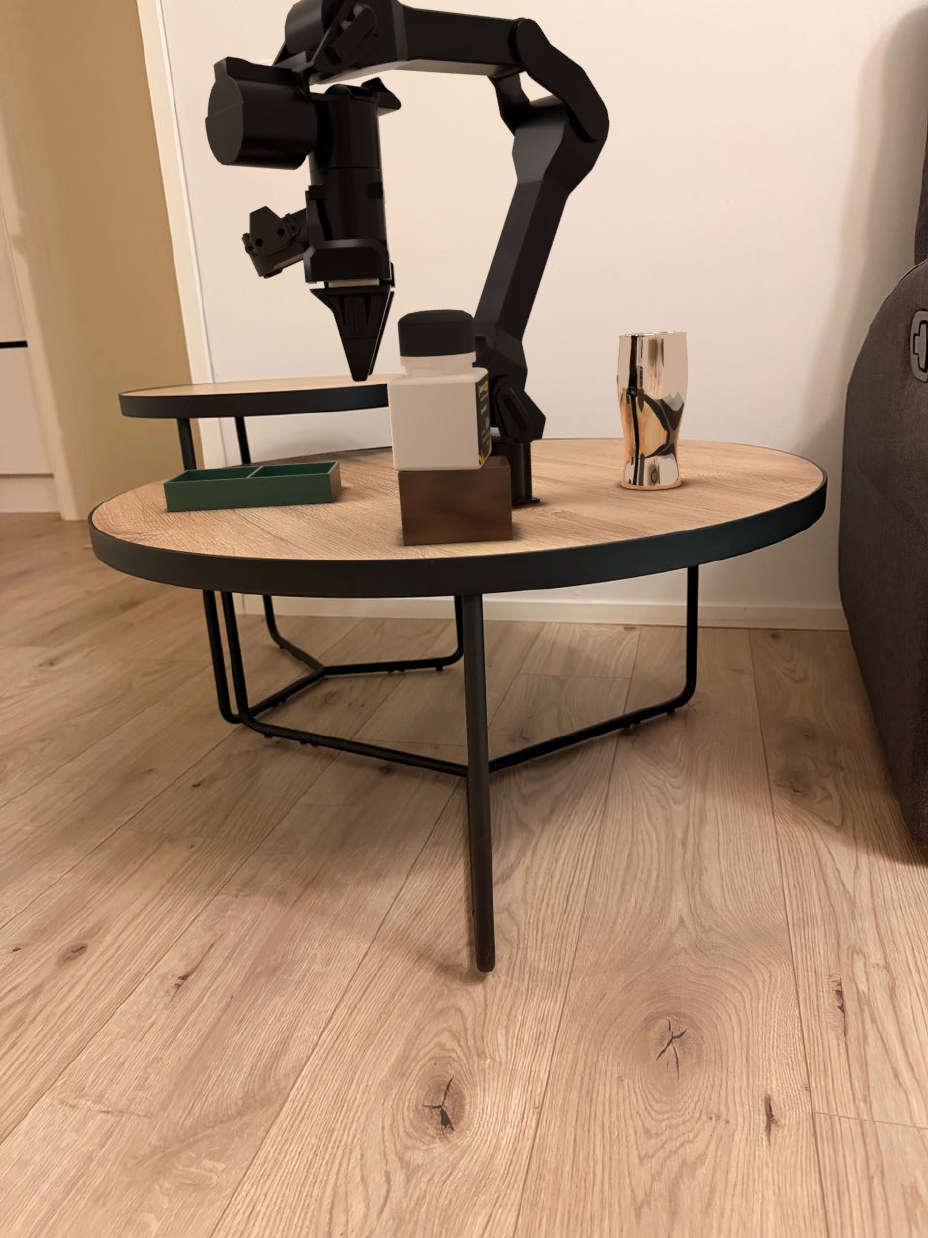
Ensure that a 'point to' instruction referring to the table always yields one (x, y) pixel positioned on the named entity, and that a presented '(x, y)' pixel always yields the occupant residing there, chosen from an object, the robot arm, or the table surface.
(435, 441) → the medicine bottle
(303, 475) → the divided tray
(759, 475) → the table surface
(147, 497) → the table surface
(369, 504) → the table surface
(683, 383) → the beer glass
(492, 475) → the walnut stand
